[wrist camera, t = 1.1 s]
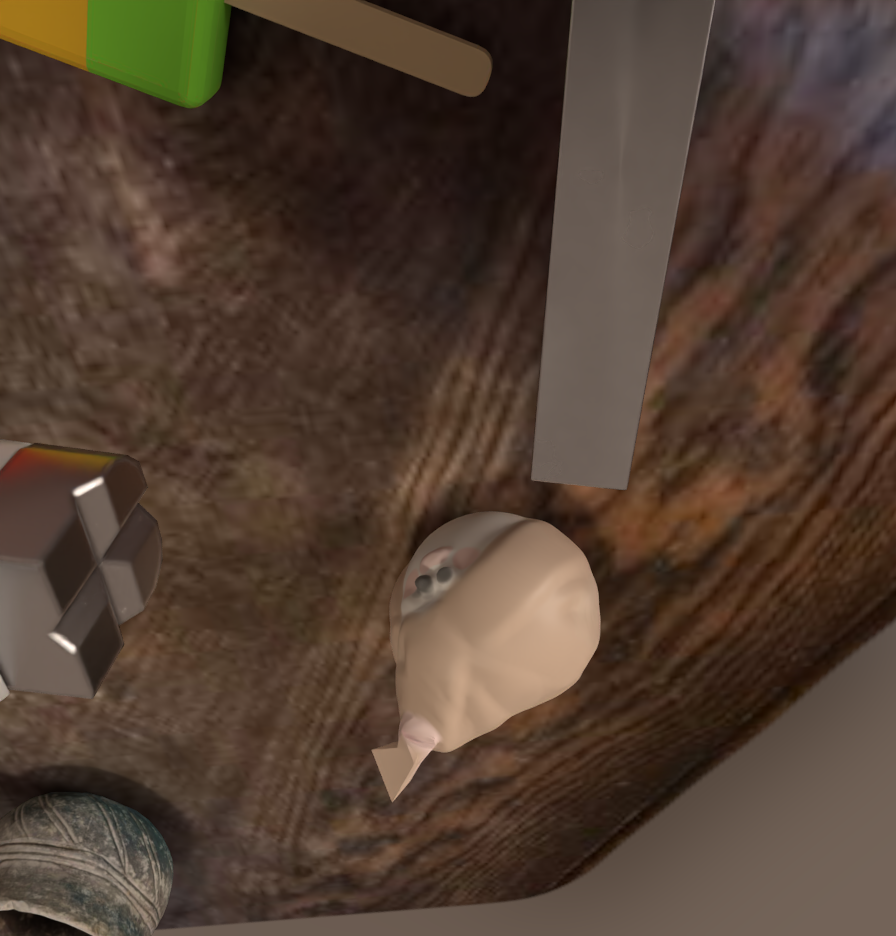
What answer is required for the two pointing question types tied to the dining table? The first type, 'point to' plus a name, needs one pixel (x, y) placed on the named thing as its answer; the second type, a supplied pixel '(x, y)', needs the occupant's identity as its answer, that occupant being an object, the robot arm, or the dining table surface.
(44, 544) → the robot arm
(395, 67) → the popsicle
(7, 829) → the mug
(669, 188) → the long grey metal bar
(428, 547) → the garlic bulb
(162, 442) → the dining table surface
